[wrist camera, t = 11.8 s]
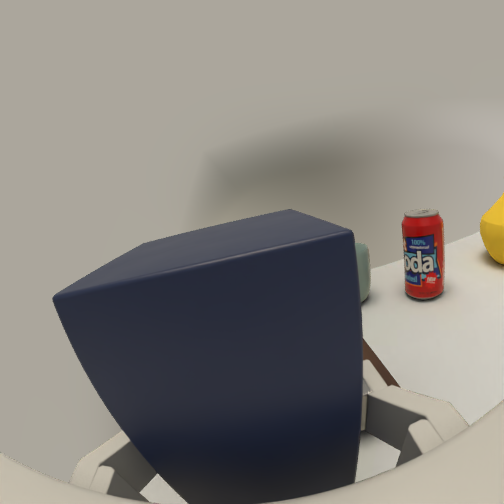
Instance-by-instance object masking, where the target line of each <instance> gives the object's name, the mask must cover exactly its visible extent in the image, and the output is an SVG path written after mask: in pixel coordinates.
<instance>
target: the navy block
mask: <svg viewBox="0 0 504 504" xmlns="http://www.w3.org/2000/svg"><path fill="white" fill-rule="evenodd" d="M53 303H54V306H55V308H56V311H57V313H58V316H59V318H60V320H61V323H62V325H63V327H64V330H65V332H66V334H67V336H68V338H69V341H70V343H71V345H72V347H73V349H74V351H75V353H76V355H77V357H78V359H79V361H80V363H81V365H82V367H83V369H84V370H85V372H86V374H87V376H88V377H89V379H90V381H91V383H92V385H93V386H94V388H95V390H96V391H97V393H98V395H99V396H100V398H101V399H102V401H103V402H104V404H105V406H106V407H107V409H108V410H109V412H110V413H111V415H112V416H113V417H114V419H115V420H116V422H117V423H118V424H119V426H120V427H121V429H122V430H123V432H124V433H125V434H126V436H127V437H128V438H129V439H130V441H131V442H132V443H133V445H134V446H135V447H136V448H137V450H138V451H139V452H140V453H141V454H142V456H143V457H144V458H145V459H146V460H147V462H148V463H149V464H150V465H151V466H152V467H153V468H154V469H155V471H156V472H157V473H158V474H159V475H160V476H161V477H162V478H163V479H164V480H165V481H166V482H167V483H168V484H169V485H170V486H171V487H172V488H173V489H174V490H175V491H176V492H177V493H178V494H179V495H180V496H181V497H182V498H183V499H184V500H185V501H186V502H187V503H188V504H261V503H269V502H276V501H283V500H289V499H294V498H300V497H305V496H309V495H314V494H318V493H322V492H326V491H330V490H333V489H337V488H340V487H344V486H347V485H350V484H353V483H355V477H356V470H357V462H358V453H359V444H360V433H361V419H362V399H363V332H362V312H361V297H360V284H359V274H358V264H357V255H356V247H355V239H354V234H353V232H352V230H349V229H347V228H343V227H341V226H338V225H335V224H333V223H330V222H327V221H324V220H321V219H318V218H315V217H313V216H310V215H306V214H304V213H301V212H298V211H295V210H292V209H288V210H283V211H278V212H274V213H269V214H264V215H260V216H256V217H251V218H246V219H242V220H238V221H233V222H229V223H224V224H220V225H216V226H212V227H207V228H203V229H199V230H195V231H190V232H186V233H182V234H178V235H174V236H171V237H166V238H163V239H158V240H155V241H151V242H147V243H143V244H141V245H140V246H138V247H136V248H134V249H132V250H131V251H129V252H127V253H125V254H123V255H121V256H120V257H118V258H116V259H114V260H112V261H111V262H109V263H107V264H106V265H104V266H102V267H100V268H98V269H97V270H95V271H93V272H92V273H90V274H88V275H86V276H85V277H83V278H81V279H80V280H78V281H76V282H75V283H73V284H71V285H70V286H68V287H67V288H65V289H63V290H62V291H60V292H58V293H57V294H55V295H54V297H53Z"/></svg>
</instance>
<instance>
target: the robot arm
mask: <svg viewBox="0 0 504 504" xmlns="http://www.w3.org/2000/svg"><path fill="white" fill-rule="evenodd" d="M363 430H365V431H367V432H369V433H370V434H372V435H374V436H375V437H377V438H379V439H380V440H382V441H384V442H386V443H387V444H389V445H391V446H393V447H395V448H396V449H398V450H400V451H401V453H400V456H399V459H398V462H397V464H396V467H395V468H393V469H391V470H388V471H386V472H383V473H381V474H378V475H376V476H373V477H370V478H368V479H365V480H362V481H359V482H356V483H353V484H350V485H347V486H344V487H340V488H337V489H333V490H330V491H326V492H322V493H318V494H314V495H309V496H305V497H300V498H294V499H289V500H283V501H276V502H269V503H261V504H504V400H503V401H501V402H500V403H499V404H498V405H497V406H495V407H494V408H493V409H492V410H490V411H489V412H488V413H487V414H485V415H484V416H483V417H481V418H480V419H479V420H477V421H476V422H474V423H473V424H472V425H470V426H469V425H468V423H467V422H466V421H465V420H464V419H463V417H462V416H461V415H460V414H459V413H458V411H457V410H456V409H455V408H454V407H453V406H452V404H451V403H449V402H446V401H442V400H438V399H435V398H432V397H428V396H425V395H422V394H418V393H415V392H412V391H409V390H406V389H403V388H400V387H397V386H394V385H391V386H387V384H386V383H385V381H384V380H383V379H382V377H381V376H380V374H379V373H378V372H377V370H376V369H375V367H374V366H373V365H372V363H371V362H370V361H369V360H364V361H363V399H362V419H361V431H363ZM156 474H157V472H156V471H155V469H154V468H153V467H152V466H151V465H150V464H149V463H148V462H147V460H146V459H145V458H144V457H143V456H142V454H141V453H140V452H139V451H138V450H137V448H136V447H135V446H134V445H133V443H132V442H131V441H130V439H129V438H128V437H127V436H126V434H125V433H124V432H123V430H122V431H121V432H119V433H118V434H117V435H115V436H114V437H112V438H111V439H109V440H108V441H107V442H105V443H104V444H102V445H101V446H99V447H98V448H97V449H95V450H94V451H92V452H91V453H89V454H88V455H86V456H85V457H84V458H82V459H80V461H79V462H78V465H77V466H76V468H75V471H74V473H73V475H72V477H71V479H70V481H69V483H67V482H64V481H61V480H58V479H56V478H53V477H50V476H48V475H46V474H43V473H41V472H39V471H36V470H34V469H32V468H30V467H27V466H26V465H23V464H21V463H19V462H17V461H15V460H14V459H12V458H10V457H8V456H6V455H4V454H2V453H1V452H0V504H159V503H151V502H149V501H148V500H147V499H146V498H145V497H144V496H142V495H141V494H140V493H139V492H140V491H141V490H142V489H143V488H144V487H145V486H146V485H147V484H148V483H149V482H150V481H151V480H152V479H153V478H154V476H155V475H156Z"/></svg>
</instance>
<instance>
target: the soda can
mask: <svg viewBox="0 0 504 504" xmlns="http://www.w3.org/2000/svg"><path fill="white" fill-rule="evenodd" d="M438 213H439V211H438V210H434V209H419V210H412V211H408V212H405V213H404V215H405V217H404V219H403V221H402V234H403V247H404V266H405V291H406V292H407V294H408V295H410V296H412V297H414V298H417V299H422V300H425V299H431V298H434V297H436V296H438V295H439V294H441V293H442V291H443V289H444V265H445V257H444V228H443V220H442V218H441V217H440V216H439V214H438Z"/></svg>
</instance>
